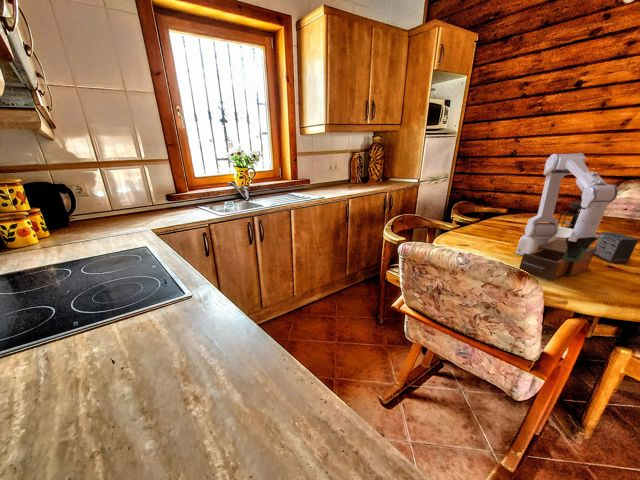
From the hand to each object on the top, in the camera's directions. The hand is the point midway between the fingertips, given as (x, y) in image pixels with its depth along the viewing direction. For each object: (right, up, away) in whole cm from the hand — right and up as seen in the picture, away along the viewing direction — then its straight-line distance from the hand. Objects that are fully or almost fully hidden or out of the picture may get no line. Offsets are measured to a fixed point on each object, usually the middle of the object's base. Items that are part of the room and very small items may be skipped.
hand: (574, 256), depth 102 cm
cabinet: (+8, -4, +14) cm, 16 cm away
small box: (+35, -1, +19) cm, 39 cm away
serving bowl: (+27, +7, +37) cm, 47 cm away
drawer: (-5, -6, +8) cm, 11 cm away
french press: (+47, +13, +48) cm, 68 cm away
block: (0, -1, +1) cm, 1 cm away
